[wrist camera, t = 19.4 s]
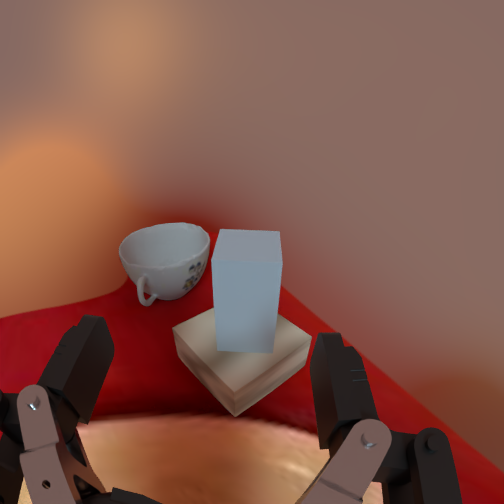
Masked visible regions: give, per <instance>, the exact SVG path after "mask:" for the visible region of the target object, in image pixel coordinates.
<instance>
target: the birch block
mask: <svg viewBox="0 0 504 504" xmlns="http://www.w3.org/2000/svg"><path fill="white" fill-rule="evenodd" d="M172 329H173V334H174V339H175V344H176V348H177V353H178V357H179V358H180V359H181V361H182V362H183V363H184V364H185V365H186V366H187V367H188V368H189V370H190V371H191V372H192V373H193V374H194V375H195V376H196V377H197V378H198V380H199V381H200V382H201V383H202V384H203V385H204V386H205V387H206V388H207V389H208V390H209V391H210V392H211V393H212V394H213V396H214V397H215V398H216V399H217V400H218V401H219V402H220V403H221V404H222V405H223V406H224V407H225V408H226V409H227V410H228V411H229V412H230V413H231V414H232V415H233V416H234V417H236V416H238V415H239V414H241V413H242V412H243V411H245V410H246V409H248V408H249V407H251V406H252V405H253V404H255V403H256V402H258V401H259V400H260V399H262V398H263V397H265V396H266V395H267V394H269V393H270V392H271V391H273V390H274V389H275V388H277V387H278V386H279V385H281V384H282V383H283V382H285V381H286V380H287V379H288V378H290V377H291V376H292V375H294V374H295V373H296V372H297V371H299V370H300V369H301V368H302V367H304V366H305V363H306V359H307V355H308V351H309V347H310V342H311V338H312V337H311V336H310V335H308V334H307V333H305V332H304V331H302V330H301V329H300V328H298V327H297V326H295V325H294V324H292V323H291V322H289V321H288V320H286V319H285V318H283V317H282V316H281V315H279V314H278V313H277V321H276V330H275V339H274V348H273V353H249V352H230V351H217V342H216V328H215V313H214V308H212V309H210V310H208V311H206V312H204V313H202V314H200V315H197V316H195V317H193V318H191V319H189V320H187V321H185V322H183V323H181V324H179V325H177V326H175V327H173V328H172Z"/></svg>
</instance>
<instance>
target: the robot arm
mask: <svg viewBox="0 0 504 504" xmlns="http://www.w3.org/2000/svg"><path fill="white" fill-rule="evenodd" d="M113 357H114V343H113V340H112V338H111V335H110V332H109V330H108V327H107V324H106V321H105V319H104V318H103V317H100V316H93V315H84V316H83V317H82V319H81V320H80V322H79V324H78V326H73V327H71V328H70V329H69V330H68V331H67V332H66V333H65V334H64V335H63V337H62V339H61V340H60V342H59V346H57V347H56V349H55V351H54V354H53V355H52V356H51V358H50V360H49V362H48V364H47V366H46V367H45V369H44V371H43V373H42V375H41V377H40V379H39V381H38V383H37V384H36V385H30V386H27V387H25V388H24V389H23V390H22V391H21V392H20V394H17V393H3V392H2V391H1V389H0V430H1V431H2V432H3V435H2V437H1V440H0V504H18V499H19V495H20V490H21V486H22V482H23V478H25V481H26V485H27V488H28V491H29V494H30V497H31V500H32V503H33V504H162V503H159V502H157V501H155V500H153V499H150V498H148V497H146V496H144V495H141V494H137V493H133V492H129V491H125V490H121V489H118V488H114V487H113V489H112V492H106V490H105V488H104V486H103V484H102V483H101V481H100V479H99V478H98V477H97V475H96V474H95V473H94V471H93V469H92V467H91V465H90V463H89V460H88V458H87V455H86V453H85V450H84V447H83V445H82V442H81V439H80V436H79V434H78V431H77V429H76V426H77V423H78V422H81V423H84V424H87V425H88V423H89V420H90V417H91V414H92V411H93V409H94V406H95V403H96V400H97V398H98V395H99V392H100V390H101V387H102V385H103V382H104V380H105V377H106V374H107V372H108V369H109V367H110V365H111V362H112V360H113ZM310 376H311V383H312V390H313V398H314V405H315V413H316V421H317V429H318V437H319V446H320V449H329V454H330V458H329V459H328V461H327V462H326V464H325V465H324V466H323V468H322V469H321V471H320V472H319V473H318V475H317V476H316V477H315V479H314V480H313V481H312V483H311V484H310V485H309V487H308V488H307V489H306V491H305V492H304V493H303V494H302V496H301V497H300V498H299V499H298V500H297V501H296V502H295V504H362V502H363V500H362V497H363V495H364V493H365V491H366V490H367V488H368V486H369V485H370V483H371V481H372V482H380V483H381V484H382V494H383V504H462V498H461V493H460V488H459V483H458V478H457V473H456V469H455V464H454V460H453V456H452V452H451V448H450V444H449V441H448V438H447V436H446V435H445V433H443V432H442V431H441V430H439V429H437V428H426V429H423V430H422V431H420V432H419V433H418V434H408V433H401V432H395V431H392V430H390V429H388V427H387V426H386V425H385V424H384V423H382V422H381V421H380V420H379V418H378V415H377V411H376V408H375V404H374V400H373V396H372V393H371V389H370V385H369V382H368V381H367V375H366V371H365V368H364V365H363V361H362V358H361V356H360V355H359V354H358V352H357V351H356V350H355V349H354V347H353V346H350V347H344V344H343V340H342V337H341V334H340V333H319V334H318V336H317V340H316V343H315V347H314V350H313V354H312V357H311V362H310Z"/></svg>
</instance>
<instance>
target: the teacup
mask: <svg viewBox="0 0 504 504" xmlns="http://www.w3.org/2000/svg"><path fill="white" fill-rule="evenodd" d="M209 248H210V238H209V236H208V233H206V232H205V231H204V230H203V229H202V228H201V227H199V226H195V225H194V224H187V223H182V222H181V223H167V224H159V225H155V226H152V227H146V228H143V229H140V230H138V231H135V232H133V233H131V234H130V235H129V236H127V237H126V238H125V239H124V240H123V242H122V243H121V245H120V247H119V256H120V259H121V262H122V264H123V267H124V269H125V271H126V273H127V274H128V276H129V277H130V279H131V280H132V281H133V282H134V283H135V285H136V286H137V292H138V298H139V301H140V303H141V304H142V305H144V306H150V305H151V304H152V303H153V301H154V300H155V299H156V298H158V299H161V300H174V299H178V298H180V297H182V296H184V295H185V294H187V293H188V292H189V291H190V290H191V289H192V288H193V287H194V286H195V285H196V284H197V282H198V281H199V280H200V278H201V276H202V275H203V273H204V270H205V268H206V265H207V261H208V256H209ZM144 292H145V293H147V294H149V295H151V296H150V298H149V299H148V300H145V298H144V294H143V293H144Z"/></svg>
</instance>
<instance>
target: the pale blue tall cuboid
mask: <svg viewBox="0 0 504 504" xmlns="http://www.w3.org/2000/svg"><path fill="white" fill-rule="evenodd" d="M211 261H212V280H213V298H214V313H215V328H216V342H217V351H230V352H249V353H273V348H274V339H275V330H276V321H277V312H278V303H279V293H280V283H281V273H282V253H281V243H280V233H279V231H257V230H232V229H231V230H230V229H220V232H219V235H218V239H217V242H216V246H215V249H214V253H213V256H212V260H211Z"/></svg>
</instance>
